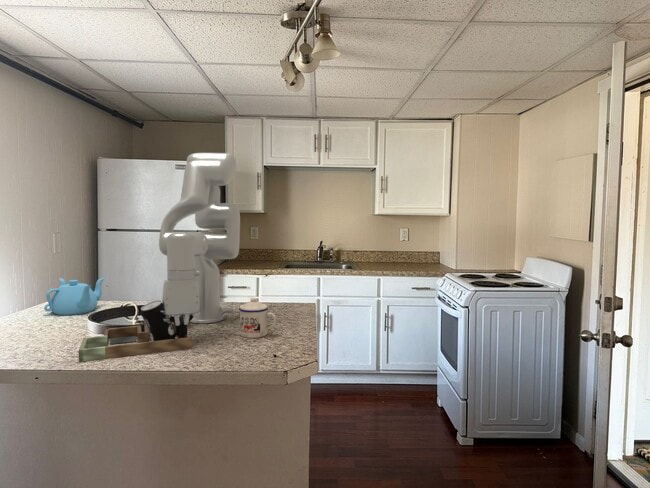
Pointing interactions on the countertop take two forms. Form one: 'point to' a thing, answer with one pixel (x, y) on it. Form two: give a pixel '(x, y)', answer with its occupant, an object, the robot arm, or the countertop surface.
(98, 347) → the wooden tray
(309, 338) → the countertop surface
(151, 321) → the beverage can
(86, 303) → the teapot
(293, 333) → the countertop surface
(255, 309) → the teacup with lid
